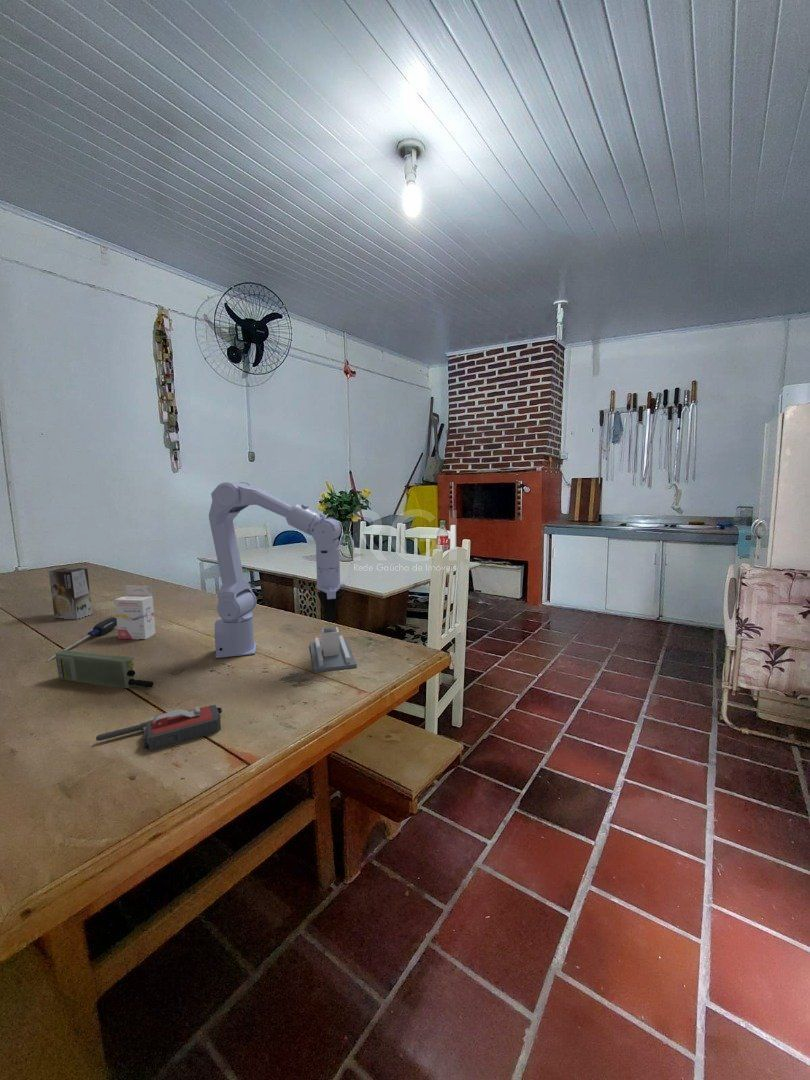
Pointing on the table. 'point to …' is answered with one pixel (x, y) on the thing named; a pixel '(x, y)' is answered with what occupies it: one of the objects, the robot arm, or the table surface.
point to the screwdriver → (96, 631)
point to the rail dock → (332, 657)
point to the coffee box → (70, 593)
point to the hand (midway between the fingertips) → (329, 619)
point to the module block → (330, 641)
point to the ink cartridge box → (135, 613)
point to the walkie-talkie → (174, 727)
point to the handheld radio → (98, 669)
